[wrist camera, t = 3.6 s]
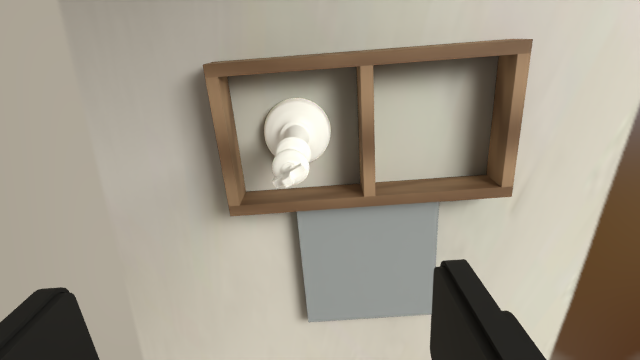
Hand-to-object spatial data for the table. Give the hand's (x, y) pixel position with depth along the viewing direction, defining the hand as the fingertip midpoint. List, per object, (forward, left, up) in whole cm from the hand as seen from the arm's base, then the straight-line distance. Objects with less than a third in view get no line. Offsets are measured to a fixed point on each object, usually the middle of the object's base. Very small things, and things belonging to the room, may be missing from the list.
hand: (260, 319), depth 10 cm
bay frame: (0, +5, -19) cm, 19 cm away
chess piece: (0, 0, -19) cm, 19 cm away
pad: (+11, +5, -19) cm, 22 cm away
